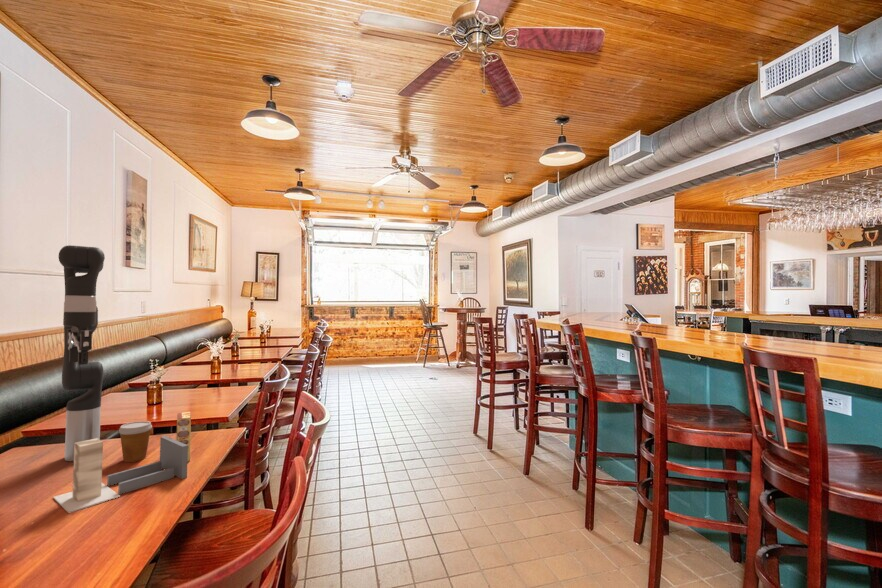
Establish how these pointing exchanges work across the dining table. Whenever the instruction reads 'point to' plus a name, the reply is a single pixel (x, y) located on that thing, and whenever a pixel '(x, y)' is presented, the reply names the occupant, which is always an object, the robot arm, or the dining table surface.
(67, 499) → the mat
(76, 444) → the ash block
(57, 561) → the dining table surface
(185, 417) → the candy box
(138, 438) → the disposable coffee cup
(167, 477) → the lane rack
